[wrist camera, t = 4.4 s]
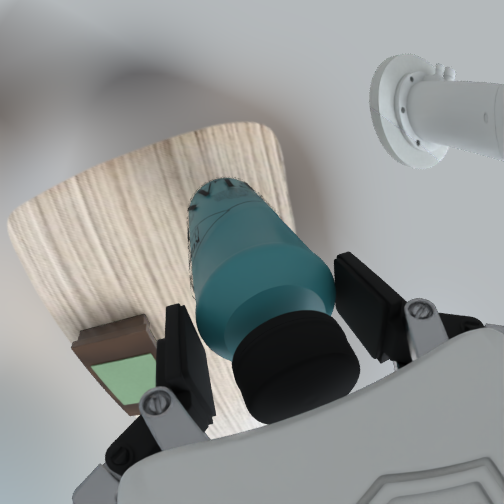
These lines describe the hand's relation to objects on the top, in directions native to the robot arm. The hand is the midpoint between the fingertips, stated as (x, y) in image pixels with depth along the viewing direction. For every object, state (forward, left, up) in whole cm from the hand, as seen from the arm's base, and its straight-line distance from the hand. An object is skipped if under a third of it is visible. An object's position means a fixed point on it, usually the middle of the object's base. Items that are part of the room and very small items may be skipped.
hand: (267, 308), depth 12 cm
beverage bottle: (0, 0, -15) cm, 15 cm away
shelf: (+25, -5, -18) cm, 31 cm away
